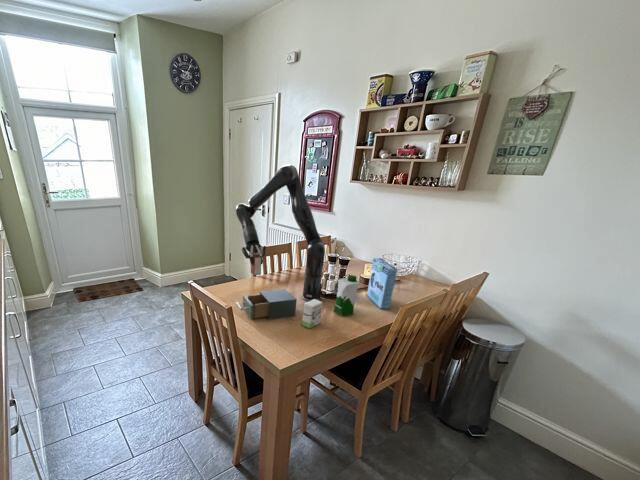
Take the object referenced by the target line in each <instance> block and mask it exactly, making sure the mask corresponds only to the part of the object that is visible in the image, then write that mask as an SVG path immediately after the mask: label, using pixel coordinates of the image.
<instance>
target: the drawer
mask: <svg viewBox="0 0 640 480" xmlns="http://www.w3.org/2000/svg"><path fill="white" fill-rule="evenodd" d="M235 305H236V306H237V307H238V309H239V310H240V311H241V312H242V311H244V312H245V314H246V316H247V317H248V318H249V319H250V321H252V320H254V319H259V318H267V317H266V316H268V314H269V302H268V301H267V300H266V299H265V298H264V297H263V296H262V295H261V294H260V293H259V294H251V295H248V296H247V295H246V294H243V295H242V302H239V301H237V302H236V304H235Z"/></svg>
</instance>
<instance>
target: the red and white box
mask: <svg viewBox="0 0 640 480" xmlns="http://www.w3.org/2000/svg"><path fill="white" fill-rule="evenodd" d="M252 257H253V260H254V265H252V264H251V263H250V273H251V274H252V275H253V276H262V275H261V274H262V264H261V256H260V255H258V254H256V253H255V254H253V256H252Z"/></svg>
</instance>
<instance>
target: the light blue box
mask: <svg viewBox="0 0 640 480" xmlns="http://www.w3.org/2000/svg"><path fill="white" fill-rule="evenodd" d="M397 272H398V269H397V268H396V267H394V266H393V265H391V263H389V262H387V261H386V260H384V259H383V258H381V257H375V258H374V257H373V259H372V265H371V272H370V276H369V281H368V286H367V287H368V288H367V292H366V296H367V297H368V298H369V299H370V300H371V301H373V303H374V304H375V305H376V306H377V307H378V308H379V309H380V310H389V309H390V305H391V301H392V296H393V292H394V287H395V283H396V282H395V280H396V279H397V278H396V277H397Z"/></svg>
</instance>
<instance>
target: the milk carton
mask: <svg viewBox="0 0 640 480" xmlns="http://www.w3.org/2000/svg"><path fill="white" fill-rule="evenodd" d="M359 286H360V282H359V281H358V280H357V276H356V275H353V274H351V275H348V277H345V278H344V277H343V278H339V279H337V291H338V292H337V291H336V292H337V293H336V299H335V304H334V308H333V312H335V313H336V314H338V315H339V316H340V317H346V316H351V315H354V308H355V302H356V296H357V291H358V290H357V288H359Z"/></svg>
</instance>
